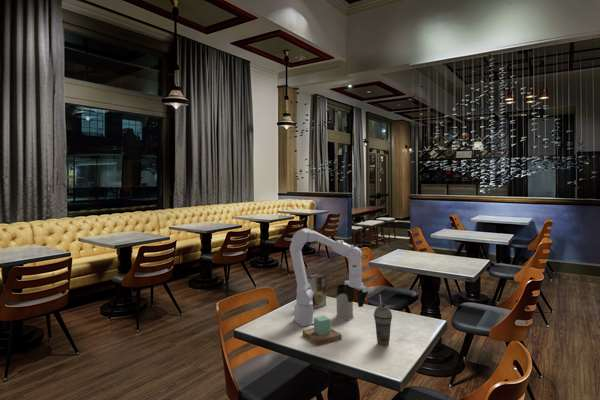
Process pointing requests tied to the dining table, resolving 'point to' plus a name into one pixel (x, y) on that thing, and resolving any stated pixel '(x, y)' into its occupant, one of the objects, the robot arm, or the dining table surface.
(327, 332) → the teal block
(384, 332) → the beverage cup
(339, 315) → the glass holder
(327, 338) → the walnut base
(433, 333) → the dining table surface
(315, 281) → the coffee box
